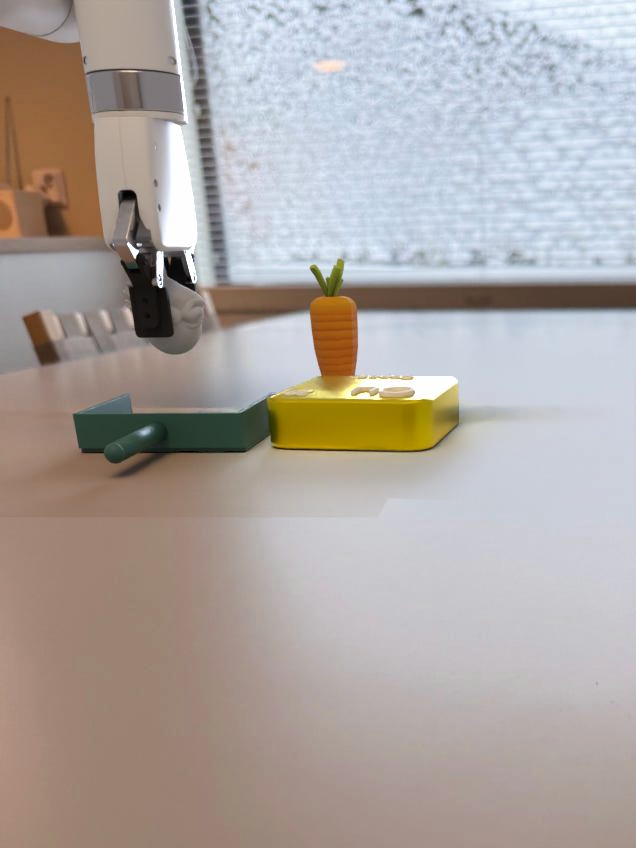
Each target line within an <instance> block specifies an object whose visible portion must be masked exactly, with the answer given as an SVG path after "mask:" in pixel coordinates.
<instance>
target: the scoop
mask: <svg viewBox="0 0 636 848" xmlns="http://www.w3.org/2000/svg"><path fill="white" fill-rule="evenodd" d="M274 394H276V392H270V393H268V394H266V395H264V396H263V397H261V398H259V399H258V400H256V401H254V402H252V403H251V404H249V405H247V406H246V407H244V408H242V409H241V410H238V411H237V412H236V411H234V412H233V411H230V412H227V411H226V412H217V411H216V412H133V411H134V410H133V406H132V397H131V394H130V393H124V394H122V395H119V396H116V397H113V398H111V399H109V400H106V401H103V402H101V403H98V404H96V405H93V406H90V407H87V408H85V409H82V410H80V411H77V412H75V413H72V419H73V424H74V430H75V434H76V440H77V446H78V449H80V450H81V453H103V455H104V459H106V461H108V462H109V463H111V464H115V465H116V464H120V463H122V462H124V461H126V460H128V459H130V458H132V457H133V456H135V455H137V454H140V453H181V452H180V451H195V452H194V453H211V452H212V453H213V452H215V453H222V452H223V453H227V452H226V451H246V452H247V451H248V450H250V449H252V448H253V447H254V446H256V445H257V444H258V443H260V442H261V441H262V440H264V439H265V438H267V437H268V436H270V428H269V419H268V409H267V398H269V397H270V396H272V395H274ZM259 441H260V442H259ZM175 451H176V452H175ZM178 451H179V452H178ZM196 451H198V452H196ZM207 451H208V452H207ZM224 451H225V452H224Z"/></svg>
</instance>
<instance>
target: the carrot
mask: <svg viewBox="0 0 636 848" xmlns="http://www.w3.org/2000/svg"><path fill="white" fill-rule="evenodd" d="M309 270H310V272H311V273H312V275H313V276H314V278H315V279H316V281H317V283H318V285H319V287H320V289H321V290H322V292H323V294H324V295H322V296H318V297H315V298H314V299H313V300H312V301H311V303H310V305H309V317H310V328H311V337H312V342H313V349H314V354H315V357H316V362H317V365H318V369H319V372H320V376H356V371H357V369H356V368H357V361H358V353H359V352H358V351H359V327H358V326H359V323H358V308H357V304H356V302H355V301H354V299H352V298H351V297H349V296H345V295H339V291H340V289H341V287H342V285H343V283H344V279H343V274H344V270H345V260H344V259H342V258H337V261H336V264H333V267H332V269H331V272H330V275H329V276H326V278H324V276H323V273H322V272H321V269H320V268H319V266H318V265H316V264H311V265H310V266H309Z"/></svg>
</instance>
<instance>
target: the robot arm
mask: <svg viewBox="0 0 636 848" xmlns="http://www.w3.org/2000/svg"><path fill="white" fill-rule="evenodd" d="M175 14H176V13H175V7H174V0H0V27H2V28H5V29H9V30H13V31H16V32H19V33H23V34H26V35H28V36H31V37H35V38H38V39H42V40H47V41H50V42H53V43H59V44H74V43H75V44H76V43H79V46H80V53H81V59H82V65H83V71H84V77H85V85H86V90H87V96H88V102H89V110H90V114H91V116H90V117H91V122H92V124H93V125H94V126H93V127H94V128H93V135H94V136H93V137H94V138H93V140H94V141H93V142H94V162H95V163H94V164H95V174H96V183H97V193H98V201H99V202H98V203H99V210H100V211H99V212H100V219H101V226H102V233H103V239H104V243H105V245H106V246H107V248H108V249H109V250H110V251H112V252H114V253H117V254H118V257H119V258H120V261H119V263H120V265H121V266H122V268H123V270H124V275H125V276H124V281H125V285H126V287H128V288H129V294H130V298H129V299H130V301H131V307H132V312H131V314H132V320H133V326H134V333H135V336H136V337H137V338H139V339H148V338H165V337H172V336H173V335H174V328H173V321H172V314H171V307H170V299H169V292H168V287H162V285H163V273H165V274H166V275H167V276H168V277H169V278H170V279H173V280H174V281H176V282H178V283H179V284H181V285H182V286H185V287H187V288H189V289H191V290H193V291H194V292H196V293H197V294H198V288H197V283H196V282H197V274H196V269H195V266H194V262H195V254H194V251H195V250H194V249H195V246H196V245H197V242H198V229H197V228H198V227H197V218H196V217H197V216H196V209H195V202H194V201H195V200H194V194H193V189H192V187H193V186H192V182H191V176H190V170H189V164H188V159H187V153H186V149H185V144H184V138H183V134H182V129H181V127H182V126H187V125H189V121H188V113H187V112H188V111H187V106H186V105H187V103H186V97H185V89H184V81H183V73H182V65H181V56H180V47H179V38H178V30H177V23H176V22H177V21H176V15H175ZM169 258H170V261H169ZM148 260H150V263H149V261H148Z"/></svg>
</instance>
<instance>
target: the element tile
mask: <svg viewBox="0 0 636 848" xmlns="http://www.w3.org/2000/svg"><path fill="white" fill-rule="evenodd" d="M459 397H460V395H459V381H458V379H456V378H455V377H453V376H414V375H399V374H398V375H397V374H396V375H395V374H394V375H392V374H389V375H387V374H384V375H381V374H371V375H368V374H361V375H358V374H355V376H321V375H319V376H315V377H312V378H310V379H308V380H306V381H303V382H300V383H298V384H296V385H293V386H291V387H289V388H286V389H283V390H281V391H280V392H277V393H275V394H274V395H272V396H270V397H269V398H267V409H268V419H269V428H270V434H269V437H270V443H271V446H273V447H274V448H278V449H290V450H295V449H296V450H341V451H381V452H382V451H385V452H389V451H390V452H414V451H424V450H428V449H431V448H434V447H435V445H437V444H438V443H439V442H440V441H441V440H442V439H443V438H444V437H445V436H446V435H448V434H449V432H451V431H452V430H453V429H454V428H455V427H456V426H457V425H458V424H459V422H460V399H459Z"/></svg>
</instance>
